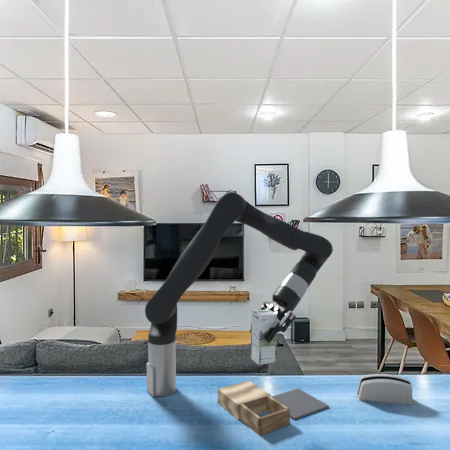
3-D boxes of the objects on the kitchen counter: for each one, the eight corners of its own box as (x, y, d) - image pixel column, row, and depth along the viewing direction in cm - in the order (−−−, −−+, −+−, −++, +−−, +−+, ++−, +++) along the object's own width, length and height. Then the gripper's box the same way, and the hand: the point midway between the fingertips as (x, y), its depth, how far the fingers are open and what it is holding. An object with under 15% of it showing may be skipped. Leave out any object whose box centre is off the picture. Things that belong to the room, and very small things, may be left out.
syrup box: (267, 356, 114) (267, 308, 113) (277, 363, 108) (277, 313, 108) (250, 359, 112) (250, 310, 111) (259, 366, 106) (259, 315, 106)
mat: (294, 420, 111) (294, 418, 111) (265, 400, 123) (265, 398, 123) (328, 407, 118) (328, 405, 118) (298, 390, 130) (298, 388, 130)
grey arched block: (409, 397, 124) (412, 372, 121) (413, 408, 120) (416, 383, 117) (355, 392, 128) (357, 369, 124) (357, 404, 123) (359, 379, 120)
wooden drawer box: (291, 424, 109) (291, 408, 109) (257, 436, 103) (257, 420, 102) (249, 393, 127) (248, 380, 127) (217, 402, 121) (217, 388, 121)
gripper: (269, 280, 119) (237, 323, 114) (300, 287, 107) (266, 336, 101) (282, 295, 122) (252, 338, 117) (313, 304, 110) (282, 352, 104)
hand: (259, 337), depth 109 cm, fingers closed on syrup box, 6 cm apart
